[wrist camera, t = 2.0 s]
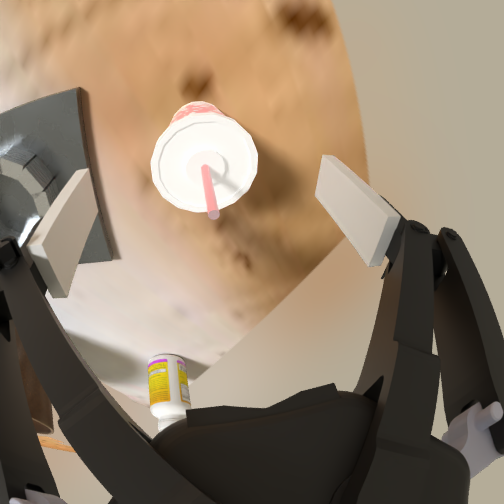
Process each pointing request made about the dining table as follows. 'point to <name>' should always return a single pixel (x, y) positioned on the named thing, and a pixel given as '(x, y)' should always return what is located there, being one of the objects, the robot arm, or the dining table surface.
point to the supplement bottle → (168, 389)
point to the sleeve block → (44, 166)
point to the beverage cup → (203, 160)
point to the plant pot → (34, 393)
